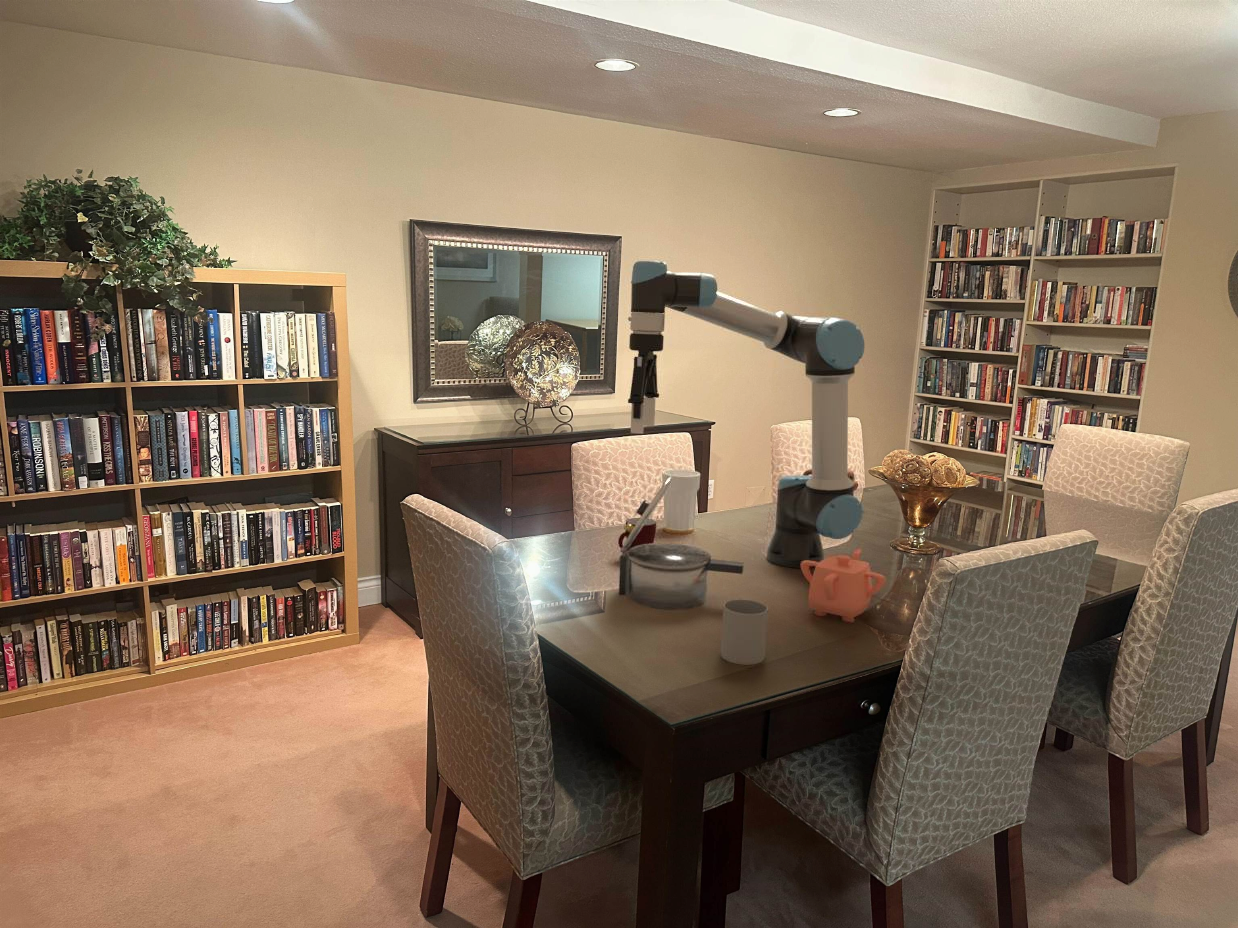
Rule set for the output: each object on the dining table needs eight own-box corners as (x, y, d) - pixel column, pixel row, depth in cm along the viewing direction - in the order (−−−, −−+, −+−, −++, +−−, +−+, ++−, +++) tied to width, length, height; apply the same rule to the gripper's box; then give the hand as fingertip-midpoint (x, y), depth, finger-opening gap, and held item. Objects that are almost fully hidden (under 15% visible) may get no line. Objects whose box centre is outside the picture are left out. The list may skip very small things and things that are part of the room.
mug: (629, 565, 225) (631, 528, 223) (610, 557, 231) (612, 521, 229) (661, 559, 231) (662, 522, 230) (641, 552, 238) (643, 516, 236)
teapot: (824, 627, 186) (829, 568, 184) (790, 602, 201) (794, 547, 199) (893, 622, 191) (898, 564, 188) (855, 598, 206) (860, 544, 203)
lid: (679, 472, 207) (668, 464, 207) (666, 487, 188) (654, 479, 189) (635, 539, 212) (624, 532, 212) (617, 561, 194) (605, 553, 194)
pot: (744, 590, 208) (746, 550, 206) (736, 618, 190) (739, 573, 188) (629, 578, 214) (631, 539, 212) (611, 604, 196) (613, 561, 194)
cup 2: (717, 647, 173) (720, 599, 172) (758, 647, 174) (761, 599, 172) (726, 664, 165) (729, 614, 163) (768, 664, 166) (772, 614, 164)
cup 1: (704, 529, 264) (707, 472, 261) (686, 536, 255) (689, 478, 252) (671, 522, 270) (673, 467, 267) (652, 530, 261) (655, 473, 258)
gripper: (641, 330, 206) (637, 421, 210) (617, 333, 183) (614, 435, 187) (672, 332, 204) (668, 423, 208) (653, 335, 181) (648, 438, 185)
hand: (642, 429), depth 197 cm, fingers open, 12 cm apart
